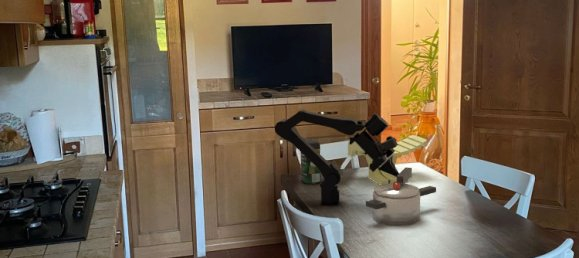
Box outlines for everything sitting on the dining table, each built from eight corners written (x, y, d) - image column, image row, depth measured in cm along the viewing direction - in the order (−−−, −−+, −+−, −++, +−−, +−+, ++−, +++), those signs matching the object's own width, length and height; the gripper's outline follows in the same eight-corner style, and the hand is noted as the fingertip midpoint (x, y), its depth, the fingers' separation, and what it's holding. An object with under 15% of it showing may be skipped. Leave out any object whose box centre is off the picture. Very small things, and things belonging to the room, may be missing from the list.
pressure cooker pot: (388, 231, 191) (388, 205, 190) (354, 219, 204) (354, 194, 202) (450, 212, 209) (451, 188, 208) (416, 202, 222) (416, 179, 220)
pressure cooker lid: (413, 200, 193) (414, 187, 192) (368, 196, 199) (368, 183, 198) (429, 180, 217) (429, 169, 216) (388, 177, 223) (388, 166, 222)
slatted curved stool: (410, 172, 269) (410, 133, 266) (426, 180, 254) (427, 139, 251) (348, 177, 261) (347, 138, 258) (361, 186, 246) (361, 144, 243)
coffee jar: (298, 179, 260) (297, 138, 257) (315, 178, 262) (314, 137, 259) (305, 185, 251) (304, 142, 248) (323, 183, 253) (322, 140, 250)
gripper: (378, 134, 206) (409, 167, 203) (389, 126, 223) (418, 156, 221) (356, 155, 210) (387, 188, 208) (369, 145, 227) (397, 175, 225)
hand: (398, 176), depth 215 cm, fingers closed
